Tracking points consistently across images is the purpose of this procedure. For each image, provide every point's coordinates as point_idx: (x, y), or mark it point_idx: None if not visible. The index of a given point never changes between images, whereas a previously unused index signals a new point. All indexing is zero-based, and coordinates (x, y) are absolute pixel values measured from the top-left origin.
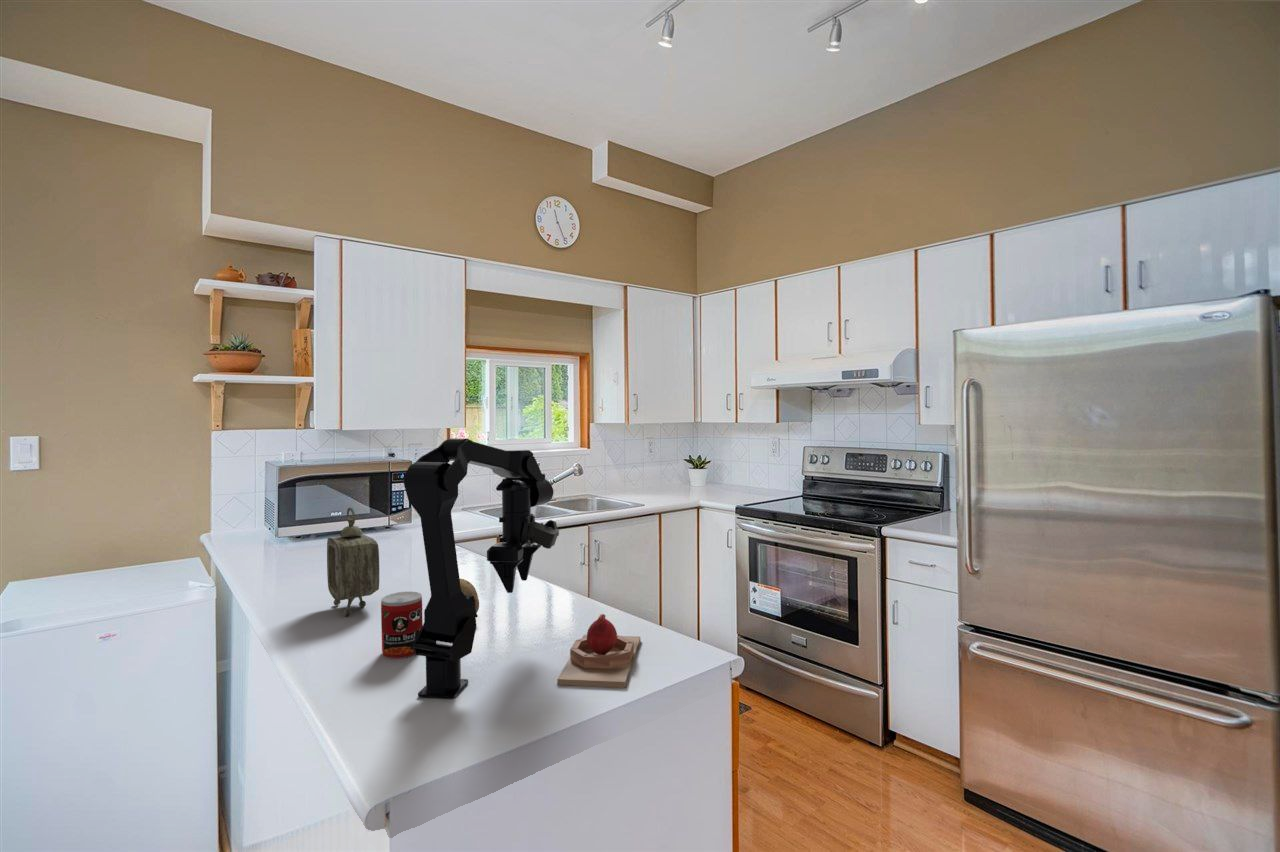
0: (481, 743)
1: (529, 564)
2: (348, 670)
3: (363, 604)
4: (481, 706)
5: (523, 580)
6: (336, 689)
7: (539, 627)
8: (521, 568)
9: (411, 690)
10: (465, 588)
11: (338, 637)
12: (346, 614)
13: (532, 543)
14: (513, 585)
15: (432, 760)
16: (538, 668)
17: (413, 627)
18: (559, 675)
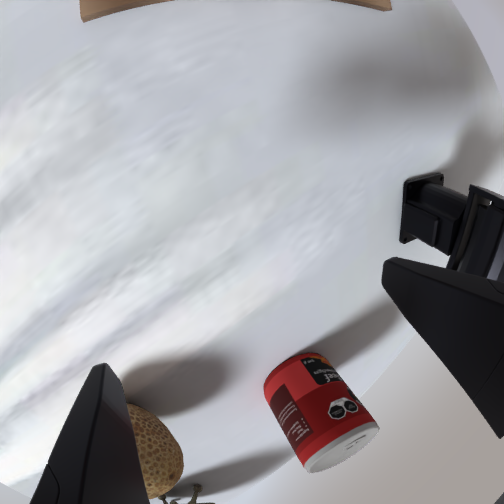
0: (486, 91)
1: (82, 464)
2: (360, 366)
3: (162, 495)
4: (449, 121)
5: (114, 374)
6: (405, 329)
7: (34, 229)
8: (127, 459)
9: (418, 250)
10: (146, 470)
11: (262, 449)
12: (200, 485)
13: None
14: (425, 269)
15: (499, 127)
16: (330, 63)
17: (336, 387)
18: (379, 5)
